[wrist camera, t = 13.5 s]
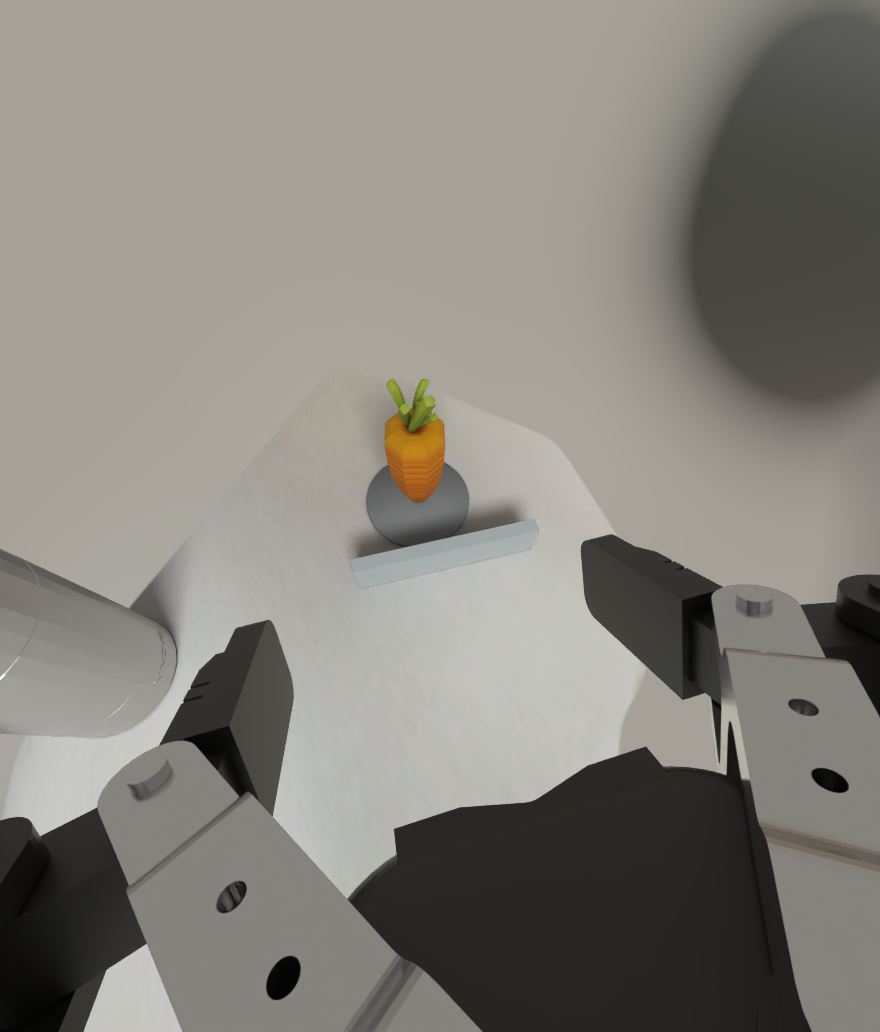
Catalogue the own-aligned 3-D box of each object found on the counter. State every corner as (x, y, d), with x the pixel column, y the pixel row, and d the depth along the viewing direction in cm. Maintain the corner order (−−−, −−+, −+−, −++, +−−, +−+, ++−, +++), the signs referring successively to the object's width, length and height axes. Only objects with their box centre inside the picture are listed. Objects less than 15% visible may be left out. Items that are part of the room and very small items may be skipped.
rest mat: (376, 557, 40) (376, 556, 40) (359, 469, 45) (358, 467, 45) (481, 534, 42) (481, 532, 41) (453, 451, 46) (454, 448, 46)
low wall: (359, 589, 39) (352, 573, 36) (357, 576, 40) (350, 559, 36) (530, 549, 41) (539, 530, 38) (525, 538, 42) (534, 518, 38)
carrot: (385, 489, 44) (364, 375, 30) (431, 472, 44) (430, 355, 31) (405, 530, 41) (390, 428, 28) (452, 511, 42) (460, 404, 29)
